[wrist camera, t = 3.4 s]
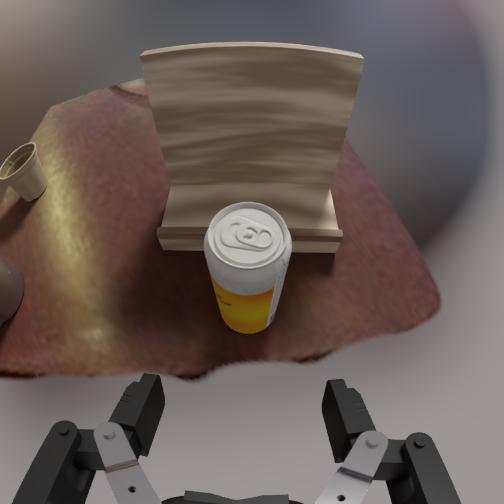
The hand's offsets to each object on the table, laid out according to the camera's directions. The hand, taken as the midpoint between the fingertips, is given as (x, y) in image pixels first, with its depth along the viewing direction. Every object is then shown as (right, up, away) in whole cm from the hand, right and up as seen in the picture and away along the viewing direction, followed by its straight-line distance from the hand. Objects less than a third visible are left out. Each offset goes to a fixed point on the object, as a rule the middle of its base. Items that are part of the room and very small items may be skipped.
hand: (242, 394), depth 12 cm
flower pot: (-42, +19, +30) cm, 55 cm away
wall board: (0, +11, +26) cm, 28 cm away
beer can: (0, 0, +19) cm, 19 cm away
